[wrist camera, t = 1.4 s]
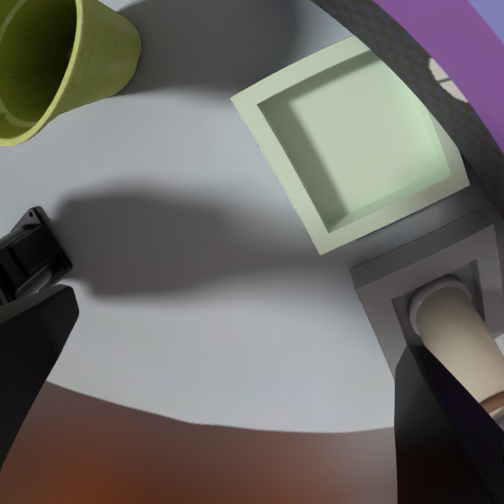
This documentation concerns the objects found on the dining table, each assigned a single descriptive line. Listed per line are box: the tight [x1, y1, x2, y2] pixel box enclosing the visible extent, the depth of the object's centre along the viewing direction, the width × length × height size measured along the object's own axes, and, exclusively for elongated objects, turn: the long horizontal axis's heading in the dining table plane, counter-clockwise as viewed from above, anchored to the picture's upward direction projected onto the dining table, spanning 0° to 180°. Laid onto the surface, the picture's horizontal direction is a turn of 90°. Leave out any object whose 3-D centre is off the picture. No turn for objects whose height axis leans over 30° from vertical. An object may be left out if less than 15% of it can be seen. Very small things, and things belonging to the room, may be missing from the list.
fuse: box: [407, 274, 504, 431], centre depth 14 cm, size 5×5×13 cm
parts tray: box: [230, 35, 470, 255], centre depth 16 cm, size 10×10×2 cm
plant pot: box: [0, 0, 142, 146], centre depth 13 cm, size 9×9×9 cm
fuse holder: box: [351, 210, 504, 381], centre depth 20 cm, size 10×10×2 cm
